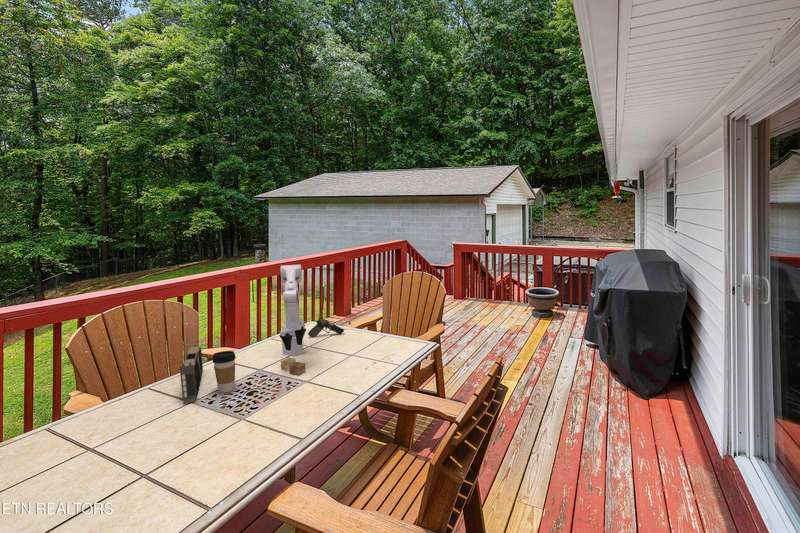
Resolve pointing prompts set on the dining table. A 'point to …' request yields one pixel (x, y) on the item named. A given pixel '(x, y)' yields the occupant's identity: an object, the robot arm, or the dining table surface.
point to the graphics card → (191, 374)
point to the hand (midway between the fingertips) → (294, 347)
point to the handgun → (321, 324)
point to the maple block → (287, 363)
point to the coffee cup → (225, 370)
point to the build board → (298, 376)
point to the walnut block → (297, 368)
